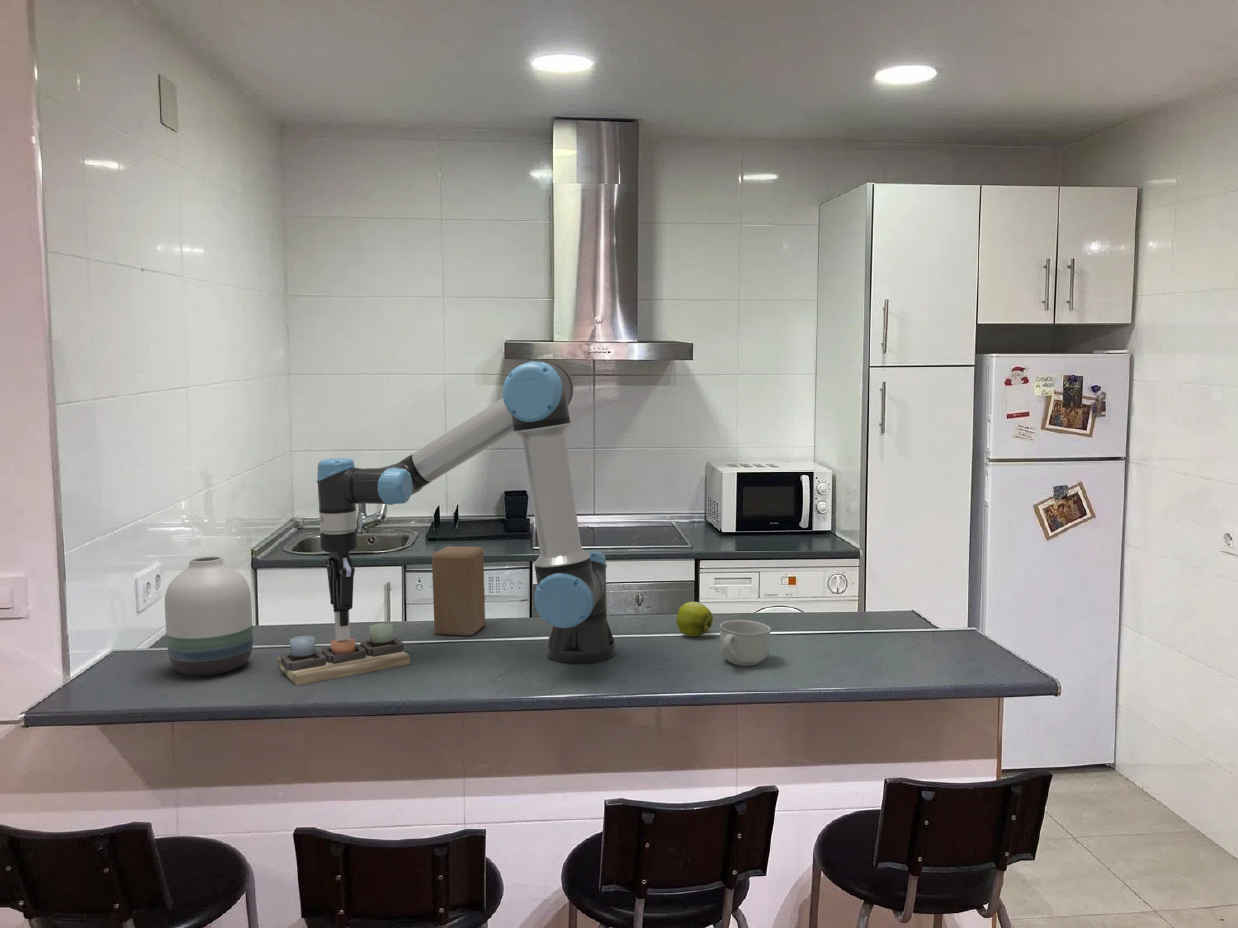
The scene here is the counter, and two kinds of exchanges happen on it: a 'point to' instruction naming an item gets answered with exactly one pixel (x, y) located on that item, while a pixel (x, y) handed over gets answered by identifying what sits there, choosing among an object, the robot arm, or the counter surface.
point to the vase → (208, 618)
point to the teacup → (744, 641)
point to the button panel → (344, 662)
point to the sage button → (381, 633)
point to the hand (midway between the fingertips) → (342, 639)
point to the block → (458, 590)
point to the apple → (694, 619)
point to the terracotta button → (343, 646)
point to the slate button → (302, 646)
